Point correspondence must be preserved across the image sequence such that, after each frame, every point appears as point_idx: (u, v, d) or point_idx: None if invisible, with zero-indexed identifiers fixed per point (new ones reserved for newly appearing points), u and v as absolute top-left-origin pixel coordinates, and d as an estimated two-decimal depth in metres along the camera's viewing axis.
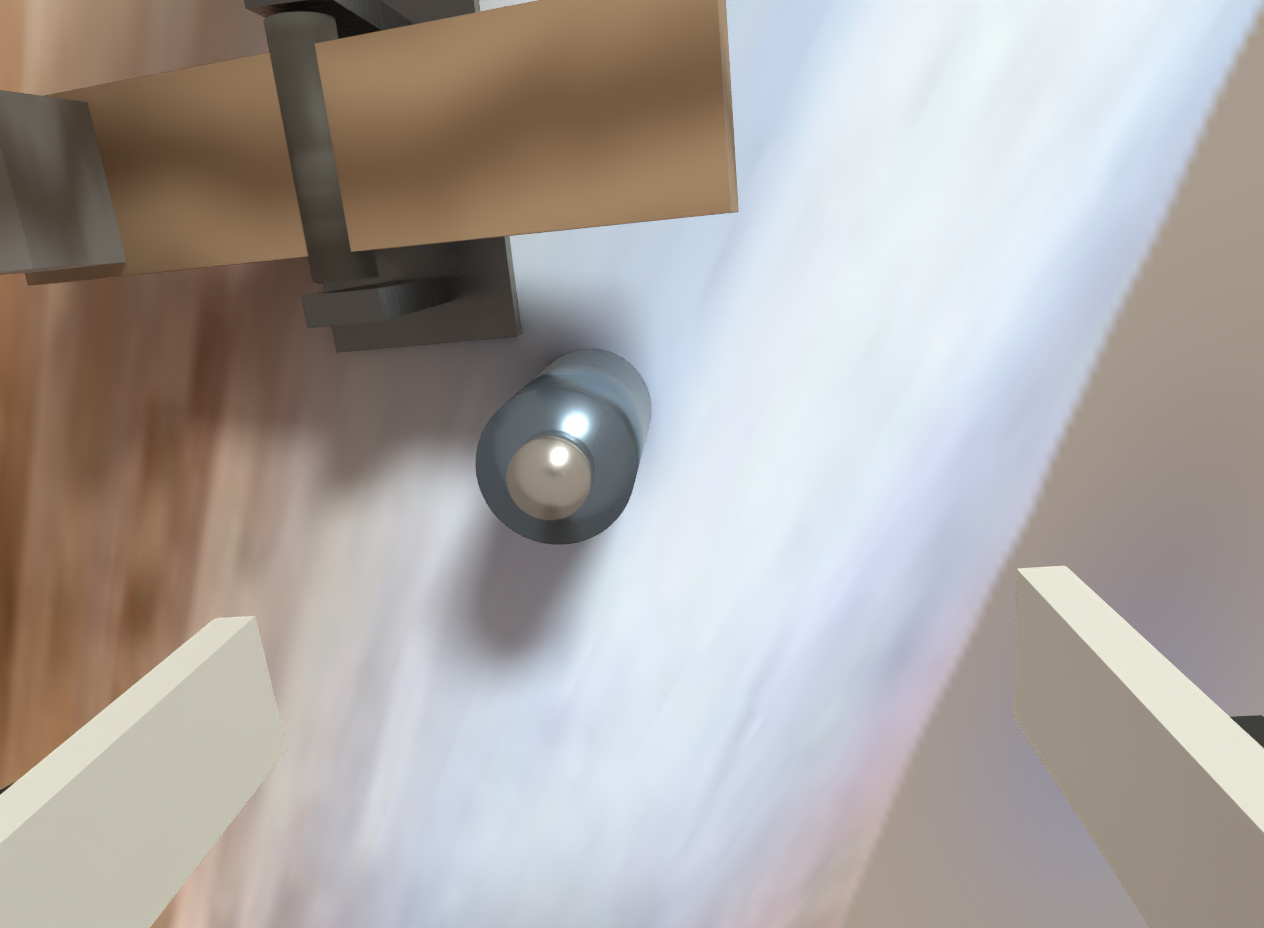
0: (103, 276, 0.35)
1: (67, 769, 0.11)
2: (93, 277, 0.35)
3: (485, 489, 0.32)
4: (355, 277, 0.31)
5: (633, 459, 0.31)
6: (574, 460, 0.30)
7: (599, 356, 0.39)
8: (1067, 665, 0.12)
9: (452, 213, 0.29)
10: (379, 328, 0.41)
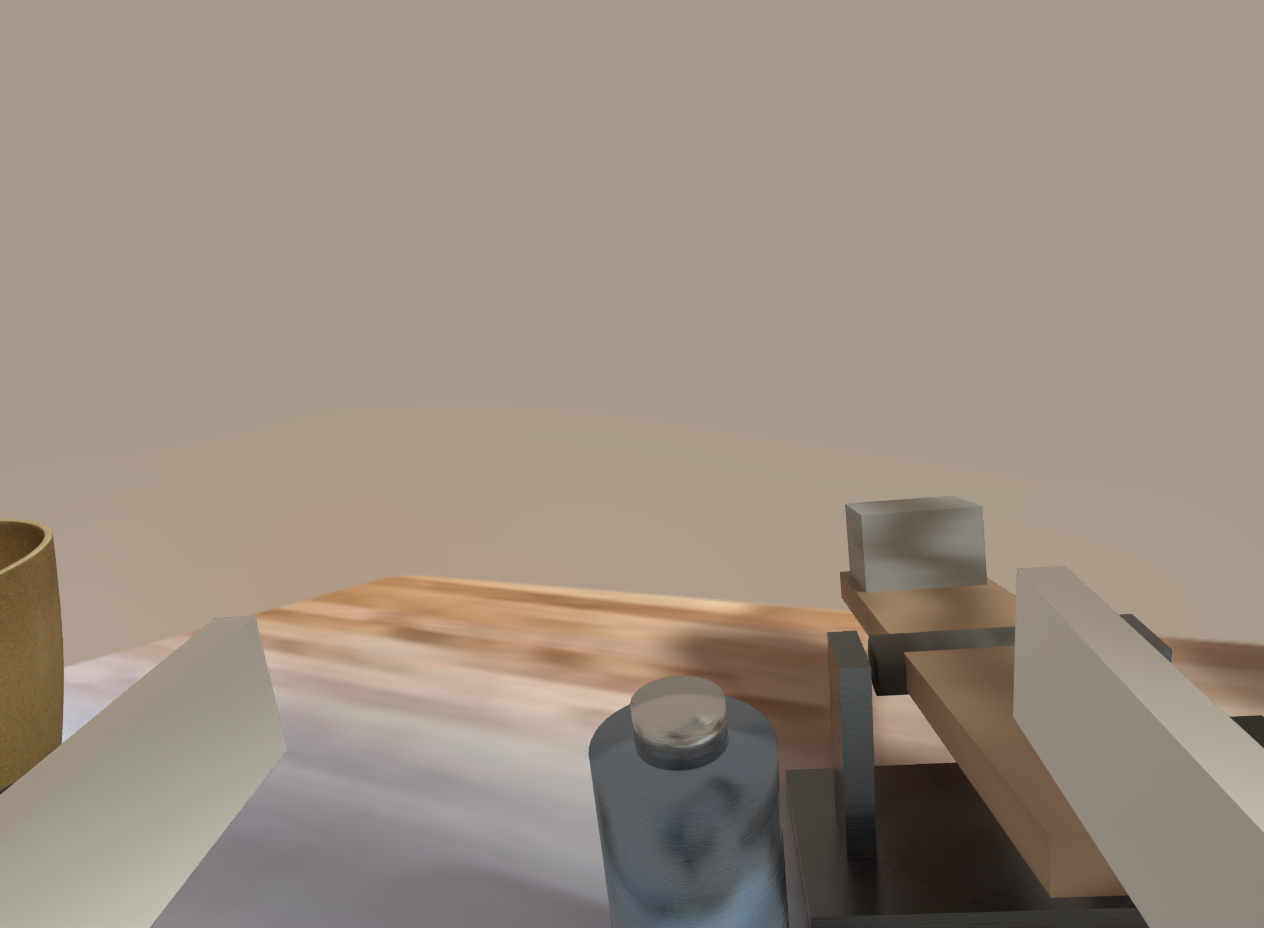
0: (852, 587, 0.45)
1: (67, 769, 0.11)
2: (851, 585, 0.45)
3: None
4: (879, 653, 0.33)
5: (685, 802, 0.24)
6: (698, 717, 0.26)
7: None
8: (1067, 665, 0.12)
9: (960, 687, 0.29)
10: (812, 801, 0.39)
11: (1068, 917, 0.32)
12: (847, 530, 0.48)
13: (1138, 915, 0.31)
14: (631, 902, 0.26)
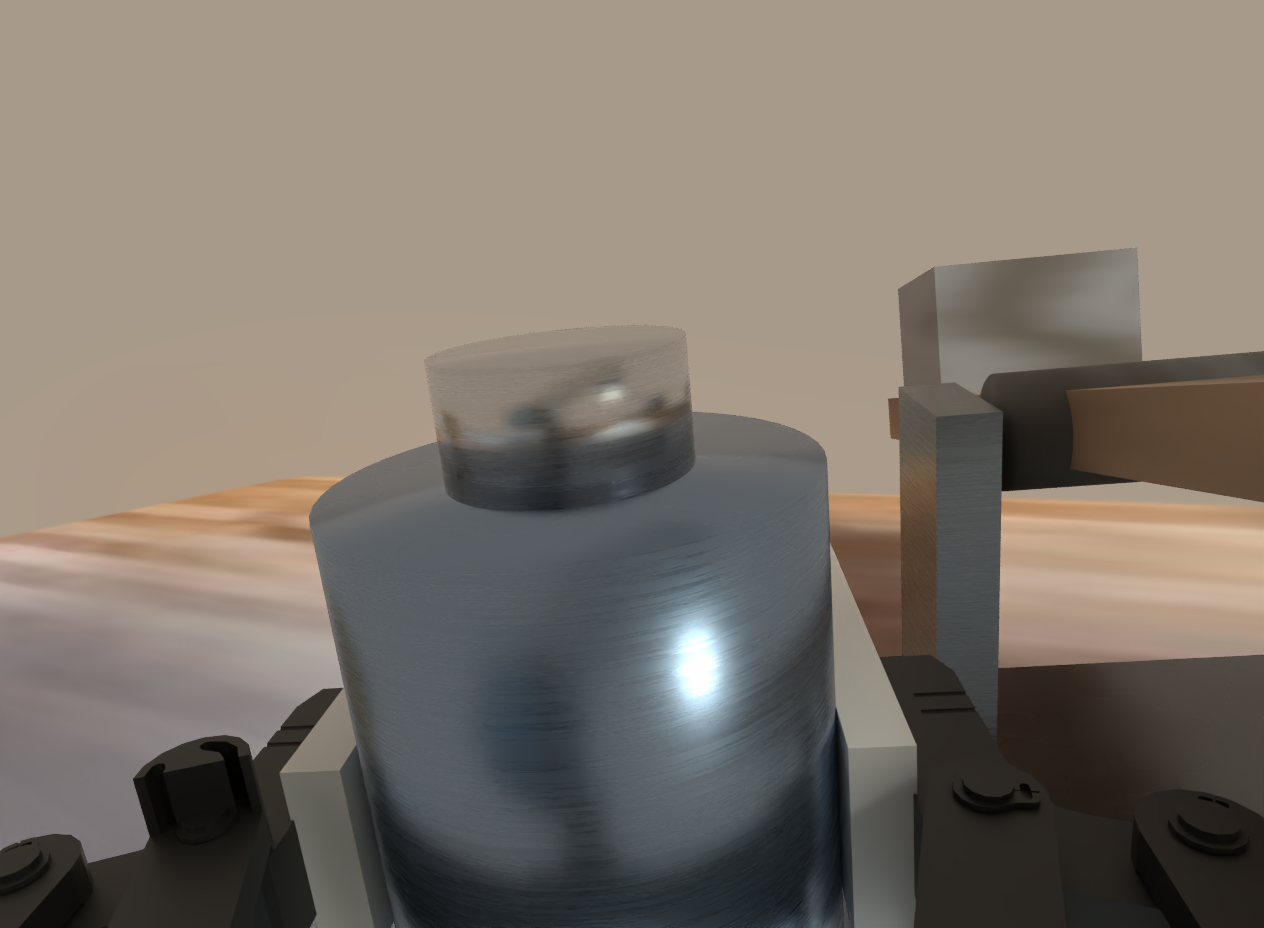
0: None
1: None
2: None
3: None
4: (1014, 394, 0.16)
5: (537, 566, 0.07)
6: (602, 354, 0.09)
7: None
8: None
9: None
10: None
11: None
12: (901, 330, 0.31)
13: None
14: (412, 894, 0.09)
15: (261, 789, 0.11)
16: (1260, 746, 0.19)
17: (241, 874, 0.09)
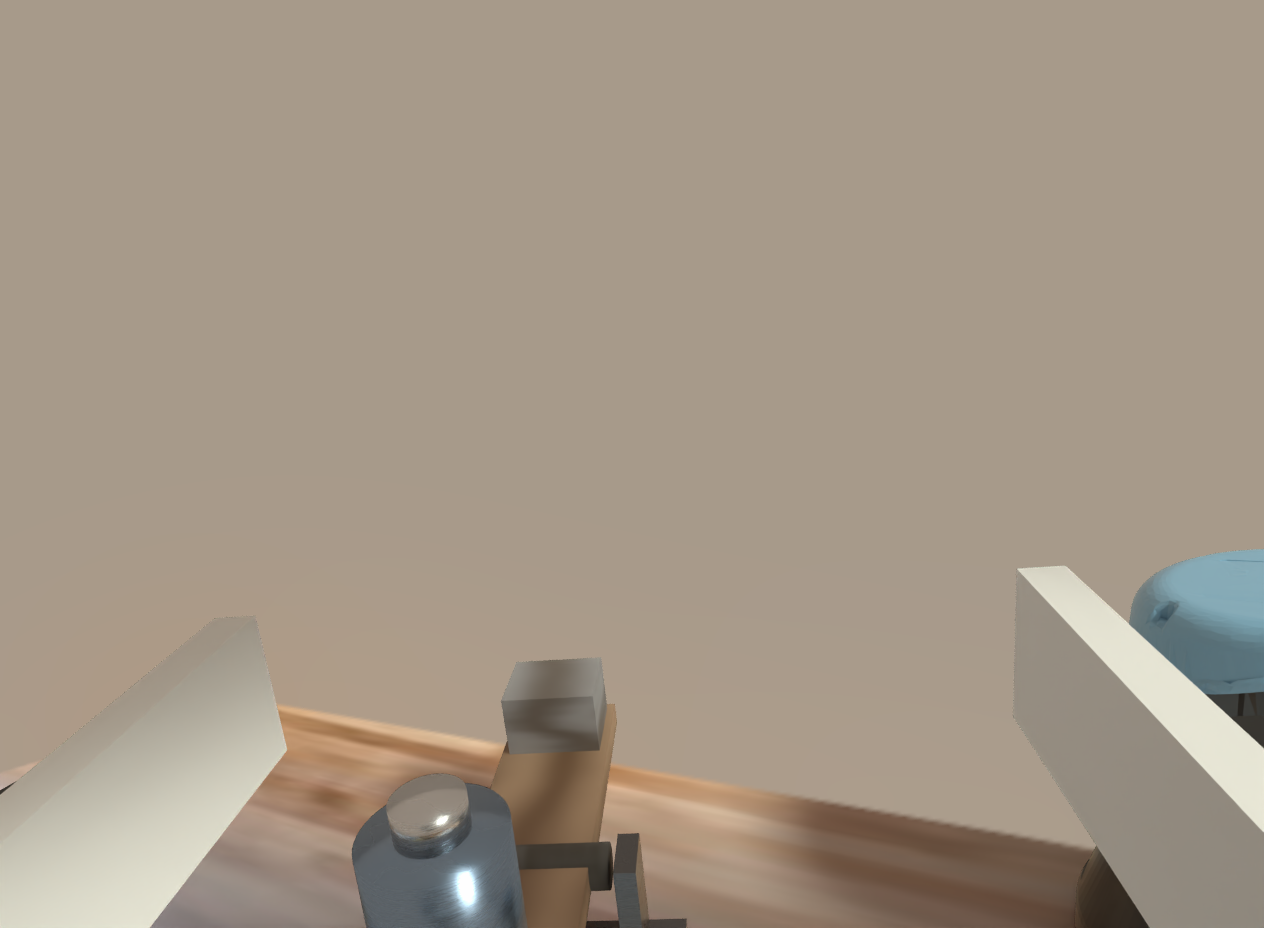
0: (507, 742, 0.57)
1: (67, 769, 0.11)
2: None
3: None
4: None
5: (413, 889, 0.30)
6: (436, 815, 0.31)
7: None
8: (1067, 665, 0.12)
9: None
10: None
11: None
12: None
13: None
14: None
15: None
16: None
17: None
